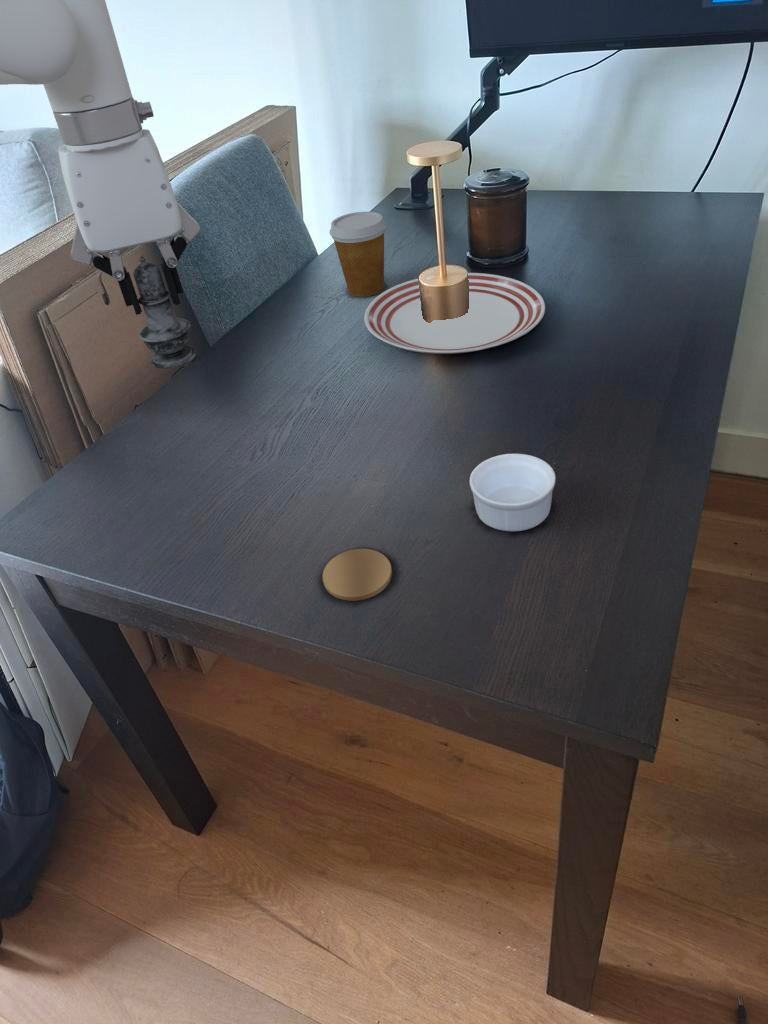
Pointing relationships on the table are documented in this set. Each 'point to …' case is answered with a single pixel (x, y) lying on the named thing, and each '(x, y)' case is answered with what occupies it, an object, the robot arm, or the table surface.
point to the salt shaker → (161, 320)
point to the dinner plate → (489, 322)
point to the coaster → (357, 574)
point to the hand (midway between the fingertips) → (156, 303)
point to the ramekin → (512, 491)
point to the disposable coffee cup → (361, 251)
